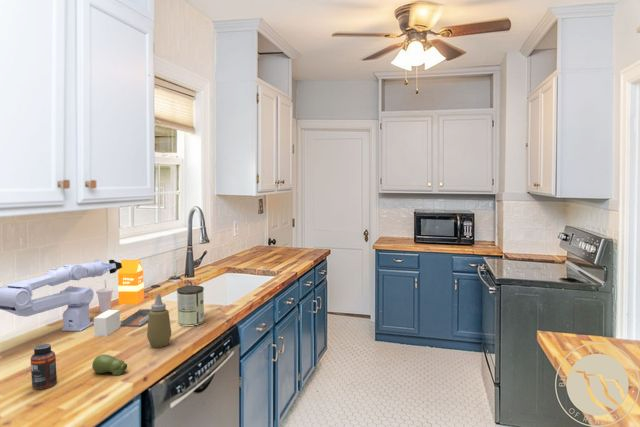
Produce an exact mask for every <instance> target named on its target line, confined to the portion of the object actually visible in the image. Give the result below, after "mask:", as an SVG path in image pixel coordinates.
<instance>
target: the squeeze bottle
mask: <svg viewBox="0 0 640 427" xmlns="http://www.w3.org/2000/svg"><path fill="white" fill-rule="evenodd" d="M150 307H151V308H150V309H152V311H150V312H149V317H148V322H147V331H146V337H147V339H148V342H149V345H150V347H152V348H155V347H157V348H162V347H163V346H164V347H166V346H168V345H169V343H170V339H171V336H172V328H171V321H170V312H169V310H168V309H167V308H166V303H164V302H163V300H162V296H161V294H160V293H158V294H156V295H155V300H154V303H153V304H151V306H150Z"/></svg>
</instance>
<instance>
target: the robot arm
mask: <svg viewBox="0 0 640 427" xmlns="http://www.w3.org/2000/svg"><path fill="white" fill-rule="evenodd" d="M108 262H109V263H108ZM108 262H103V261H101V260H100V258H97V259H95V260H94V262H87V263H85V262H84V263H78V264H62V265H61V266H60V267H59V268H58V267H52V268H51V269H50V270H48V271H47V272H45V274H44V275H42V276H37V277H33V278H29V279H25V280H21V281H20V280H19V281H17V282H16V281H15V282H11V283H7V284H5V285H4V286H0V310H2V311H6V312H7V313H10V314H13V315H16V316H18V317H31V316H34V315H38V314H41V313H44V312H47V311H51V310H55V309H58V308H61V307H62V308H63V307H65V306H67V308H66V309H65V310H64V311H63V313H62V324H63V325H62V328H61V329H60V330H61V332H62V331H63V332H65V331H68V332H70V331H71V332H81V331H83V330H85V329H87V328H88V327H90V326H92V325H94V321H91V320H90V319H91V318H90V304H91V302H92V301H93V299H94V294H95V293H94V290H93V289H92V288H91V287H79V286H78V287H77V286H71V285H70V286H67V287H65V289H62V290H60V291H59V293H58V292H57V293H53V294H51V295H49V294H48V295H46V296H42V297H39V298H34V299H32V297H33V291H35V290H36V289H40V288H43V287H44V286H47V285H48V286H49V287H55V286H58V285H60V284H64V283H67V282H70V281H77V282H78V281H80V280H81V279H85V278H86V279H87V278H95V277H102V276H103V275H106V273H108V272H109V274H114V273H115V274H116V272H117V271H119V269H121V268H122V263H121V262H117V261H116V260H115V259H108Z"/></svg>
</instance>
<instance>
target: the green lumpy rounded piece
mask: <svg viewBox="0 0 640 427" xmlns="http://www.w3.org/2000/svg"><path fill="white" fill-rule="evenodd" d="M91 368H92V370H93V372H95V373H97V374H104V373H109V372H110V373H111V374H112V375H113V376H120V374H121V375H123V372H124V371H125V370H127V368H128V364H127V362H126V363H125V361H124V360H122V359H117V358H116V357H115V356H113V355H109V354H99V355H97V356H96V357H95V358H94V359H93V361H92V367H91ZM125 372H126V371H125ZM125 372H124V373H125Z"/></svg>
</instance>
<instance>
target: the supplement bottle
mask: <svg viewBox="0 0 640 427" xmlns="http://www.w3.org/2000/svg"><path fill="white" fill-rule="evenodd" d="M33 352H34V353H33V354H32V355H31V356H30V372H31V386H32V388H33V389H34V390H45V389H48V388H51V387H53V386H55V385H56V384H57V382H58V379H57V377H58V375H57V359H56V353H55V351H54V350H52V347H51V344H50V343H43V344H42V343H41V344H38V345H35V346H34V347H33Z"/></svg>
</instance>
